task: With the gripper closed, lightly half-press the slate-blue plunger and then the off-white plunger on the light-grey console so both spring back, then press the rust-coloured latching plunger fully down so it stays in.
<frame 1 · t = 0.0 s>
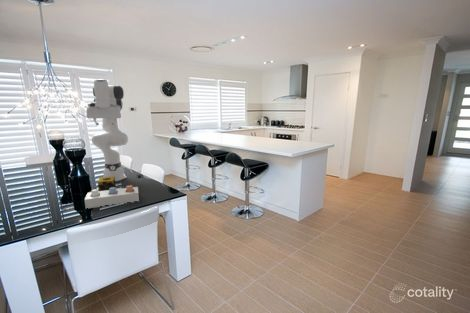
hand: (105, 125, 158), 48 cm above the table, fingers open, 8 cm apart
key rust: (129, 189, 155), point 6 cm above the table, slide at 0.0 cm
key white: (95, 194, 147), point 6 cm above the table, slide at 0.0 cm
key blue: (113, 191, 151), point 6 cm above the table, slide at 0.0 cm
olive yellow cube: (107, 192, 168), on the table
console: (114, 201, 152), on the table
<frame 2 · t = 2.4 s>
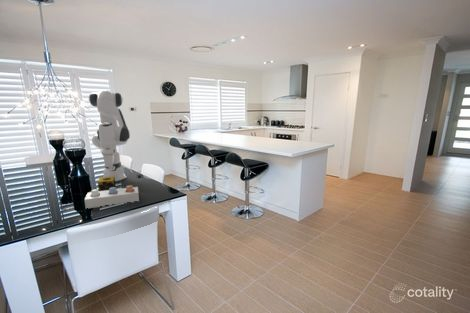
hand: (110, 170, 148), 21 cm above the table, fingers closed
nothing on the table moved.
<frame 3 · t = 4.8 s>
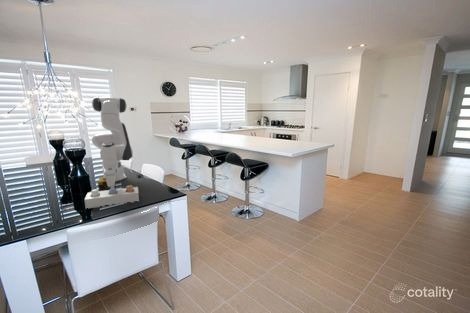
hand: (112, 189, 150), 8 cm above the table, fingers closed, pressing on key blue
key blue: (113, 192, 151), point 6 cm above the table, slide at 0.5 cm, touching gripper
everything else where it was.
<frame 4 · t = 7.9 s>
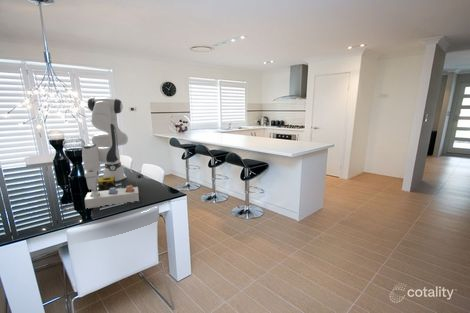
hand: (95, 191, 146), 8 cm above the table, fingers closed, pressing on key white
key white: (95, 195, 147), point 6 cm above the table, slide at 0.8 cm, touching gripper
key blue: (113, 192, 151), point 6 cm above the table, slide at 0.2 cm
everything else where it was.
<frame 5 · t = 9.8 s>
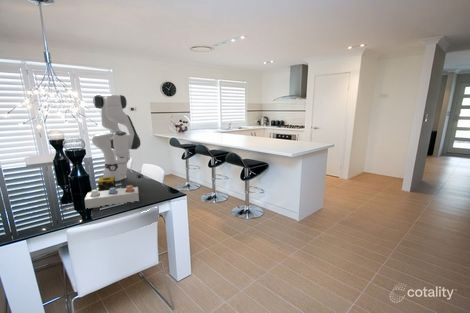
hand: (124, 177, 152), 15 cm above the table, fingers closed
key white: (95, 194, 147), point 6 cm above the table, slide at 0.2 cm
everything else where it was.
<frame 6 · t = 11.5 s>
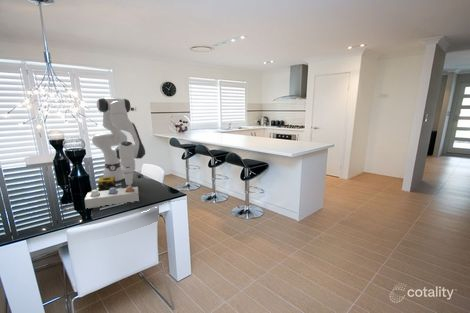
hand: (129, 186, 154), 9 cm above the table, fingers closed, pressing on key rust
key rust: (129, 190, 155), point 6 cm above the table, slide at 0.4 cm, touching gripper
everything else where it was.
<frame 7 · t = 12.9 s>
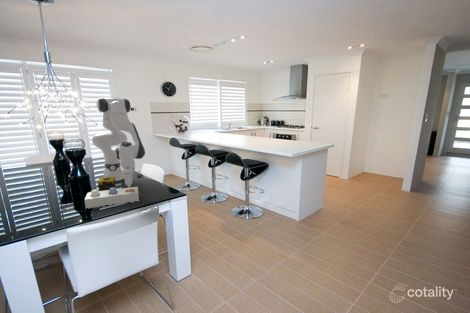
hand: (129, 187, 155), 8 cm above the table, fingers closed
key rust: (130, 193, 155), point 4 cm above the table, slide at 2.4 cm
everything else where it was.
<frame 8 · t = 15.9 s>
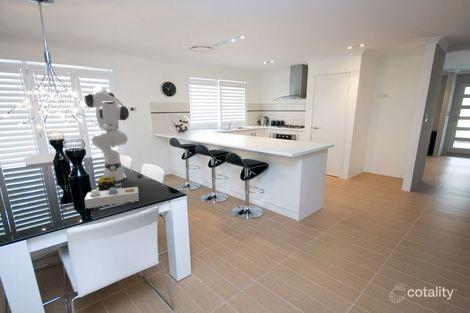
hand: (113, 146, 156), 34 cm above the table, fingers closed
nothing on the table moved.
at the end: key rust slide at 2.4 cm; key blue slide at 0.2 cm; key white slide at 0.2 cm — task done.
